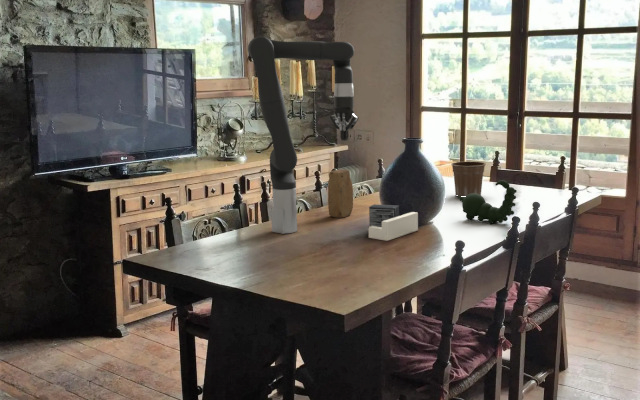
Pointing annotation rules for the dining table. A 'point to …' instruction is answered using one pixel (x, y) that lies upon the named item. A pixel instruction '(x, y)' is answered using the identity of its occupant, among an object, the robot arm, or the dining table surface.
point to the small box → (382, 213)
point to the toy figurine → (489, 206)
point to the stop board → (395, 227)
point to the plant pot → (468, 177)
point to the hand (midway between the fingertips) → (344, 140)
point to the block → (340, 193)
